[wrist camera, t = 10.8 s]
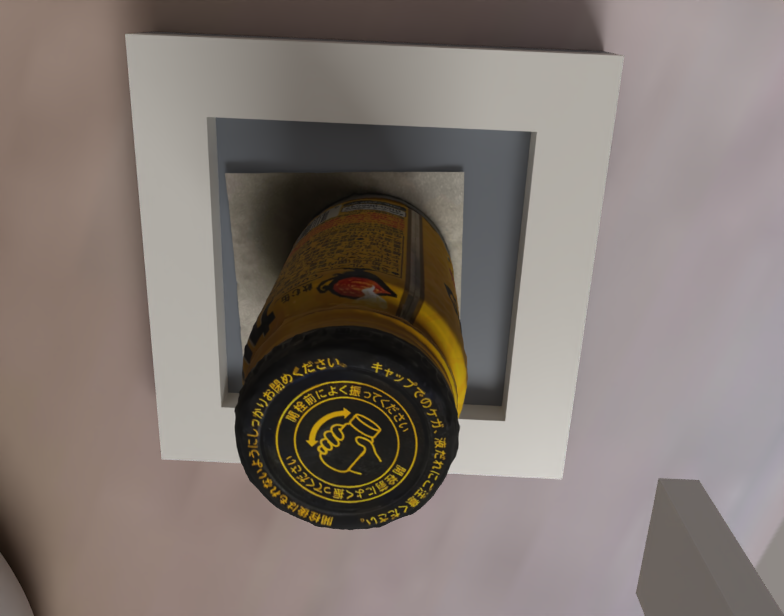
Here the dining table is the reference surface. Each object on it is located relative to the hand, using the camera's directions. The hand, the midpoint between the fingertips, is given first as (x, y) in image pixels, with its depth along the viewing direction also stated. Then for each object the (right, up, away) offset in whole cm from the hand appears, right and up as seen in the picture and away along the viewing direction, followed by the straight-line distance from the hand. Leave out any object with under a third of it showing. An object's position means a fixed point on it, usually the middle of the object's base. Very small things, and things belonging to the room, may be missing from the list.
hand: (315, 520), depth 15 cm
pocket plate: (+1, +6, +15) cm, 16 cm away
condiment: (0, +6, +14) cm, 15 cm away
